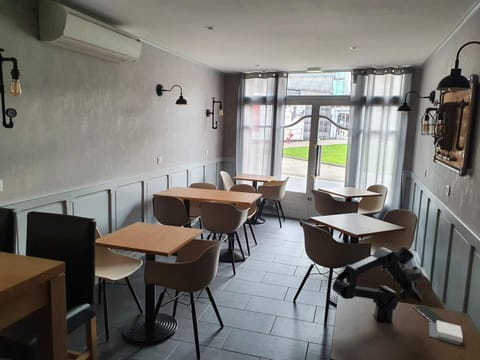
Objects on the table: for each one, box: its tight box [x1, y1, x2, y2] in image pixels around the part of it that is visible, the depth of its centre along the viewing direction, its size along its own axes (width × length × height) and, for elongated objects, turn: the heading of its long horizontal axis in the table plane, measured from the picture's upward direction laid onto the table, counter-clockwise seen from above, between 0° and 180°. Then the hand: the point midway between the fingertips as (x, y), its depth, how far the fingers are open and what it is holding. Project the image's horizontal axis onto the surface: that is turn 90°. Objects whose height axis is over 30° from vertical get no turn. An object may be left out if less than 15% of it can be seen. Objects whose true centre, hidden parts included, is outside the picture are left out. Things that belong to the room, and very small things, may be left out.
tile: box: [436, 320, 464, 343], centre depth 148 cm, size 2×10×9 cm
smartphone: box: [412, 304, 448, 323], centre depth 164 cm, size 7×1×16 cm
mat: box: [428, 321, 461, 346], centre depth 149 cm, size 11×12×1 cm
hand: (422, 302), depth 152 cm, fingers closed
